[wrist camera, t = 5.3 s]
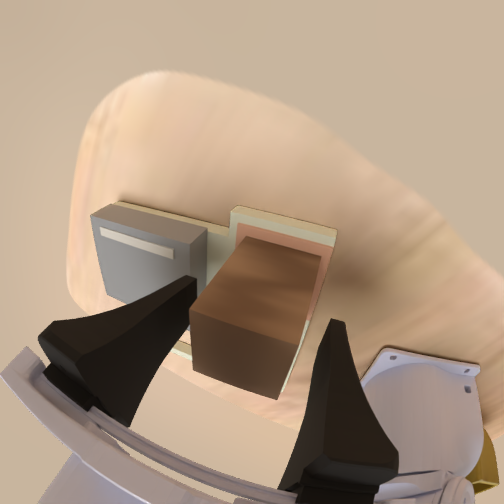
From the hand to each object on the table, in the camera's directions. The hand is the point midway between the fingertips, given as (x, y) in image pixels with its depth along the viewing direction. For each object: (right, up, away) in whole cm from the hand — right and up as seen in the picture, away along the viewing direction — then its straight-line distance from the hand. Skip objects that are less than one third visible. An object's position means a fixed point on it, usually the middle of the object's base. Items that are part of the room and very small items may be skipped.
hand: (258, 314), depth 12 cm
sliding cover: (-7, +2, +5) cm, 9 cm away
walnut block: (+1, +1, +3) cm, 3 cm away
